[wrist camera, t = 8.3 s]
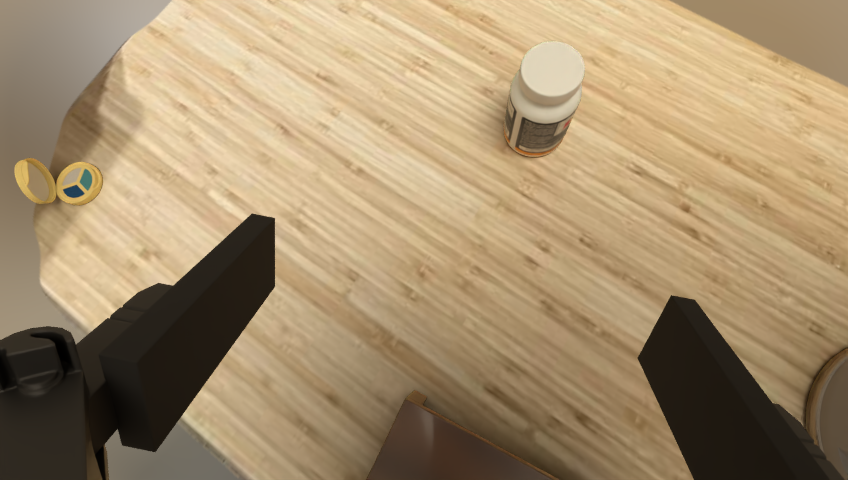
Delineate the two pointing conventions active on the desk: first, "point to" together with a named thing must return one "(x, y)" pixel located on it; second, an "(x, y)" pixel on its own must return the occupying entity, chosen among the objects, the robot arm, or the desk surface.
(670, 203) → the desk surface
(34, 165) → the eyeshadow
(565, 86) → the pill bottle
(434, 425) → the brown lipped shelf
